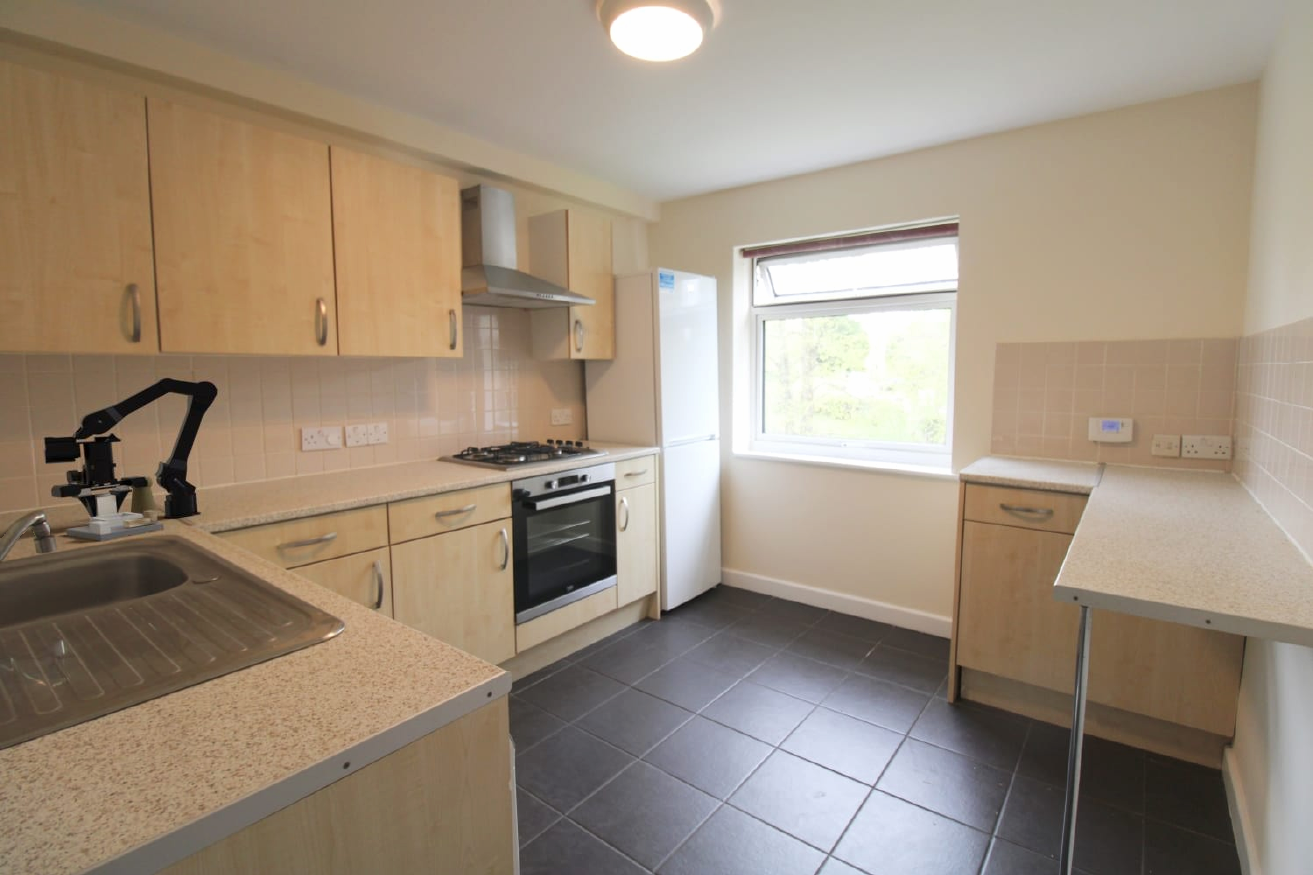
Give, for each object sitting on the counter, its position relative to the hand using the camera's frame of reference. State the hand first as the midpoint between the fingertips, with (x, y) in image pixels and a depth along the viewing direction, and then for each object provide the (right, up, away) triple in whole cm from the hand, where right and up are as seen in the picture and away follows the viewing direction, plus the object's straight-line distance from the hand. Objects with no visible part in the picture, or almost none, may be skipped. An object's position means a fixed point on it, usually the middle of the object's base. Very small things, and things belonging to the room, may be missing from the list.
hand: (104, 518), depth 167 cm
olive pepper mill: (-2, -1, +16) cm, 16 cm away
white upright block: (0, -2, 0) cm, 2 cm away
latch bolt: (+16, -1, -8) cm, 18 cm away
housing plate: (+10, -3, -8) cm, 13 cm away
